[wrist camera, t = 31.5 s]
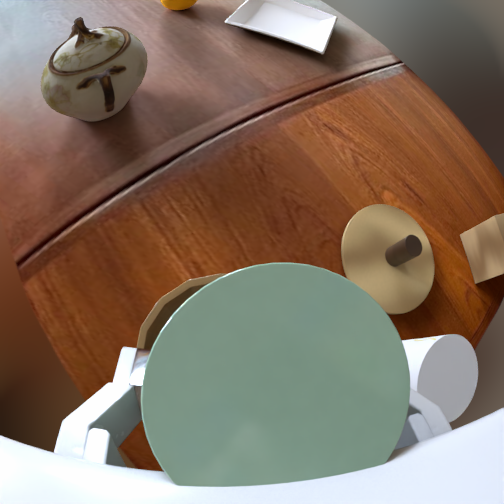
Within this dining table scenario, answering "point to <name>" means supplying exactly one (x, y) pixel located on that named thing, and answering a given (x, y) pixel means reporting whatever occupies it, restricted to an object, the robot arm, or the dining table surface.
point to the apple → (178, 4)
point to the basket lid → (388, 257)
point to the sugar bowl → (94, 72)
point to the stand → (485, 248)
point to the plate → (286, 22)
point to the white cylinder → (443, 371)
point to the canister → (275, 380)
